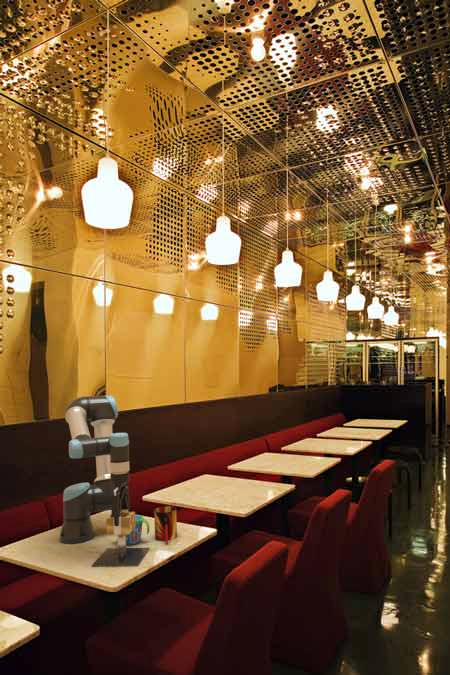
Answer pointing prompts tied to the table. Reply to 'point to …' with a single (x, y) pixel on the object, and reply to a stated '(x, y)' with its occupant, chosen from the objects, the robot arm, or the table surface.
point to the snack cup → (136, 531)
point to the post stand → (121, 555)
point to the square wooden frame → (122, 523)
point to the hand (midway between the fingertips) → (121, 530)
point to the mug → (165, 524)
